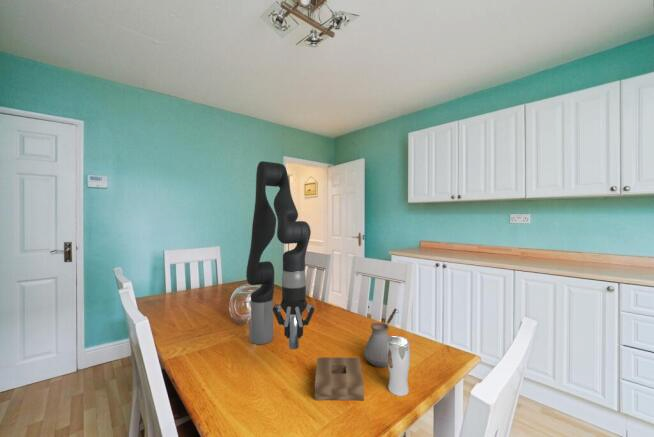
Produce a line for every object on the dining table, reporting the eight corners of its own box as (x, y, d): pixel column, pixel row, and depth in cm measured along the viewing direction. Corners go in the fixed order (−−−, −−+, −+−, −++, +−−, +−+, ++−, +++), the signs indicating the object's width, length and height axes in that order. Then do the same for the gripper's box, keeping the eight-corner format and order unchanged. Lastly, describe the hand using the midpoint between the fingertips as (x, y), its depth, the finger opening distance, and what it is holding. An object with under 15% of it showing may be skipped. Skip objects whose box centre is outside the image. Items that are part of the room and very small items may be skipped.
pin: (288, 349, 86) (288, 314, 86) (289, 344, 90) (289, 311, 89) (298, 349, 86) (298, 314, 86) (299, 344, 90) (299, 311, 89)
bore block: (315, 400, 79) (314, 382, 79) (317, 372, 93) (317, 357, 93) (363, 400, 79) (363, 383, 79) (359, 372, 93) (359, 357, 93)
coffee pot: (388, 374, 91) (387, 329, 91) (358, 363, 98) (357, 321, 98) (410, 348, 109) (410, 310, 108) (383, 340, 115) (383, 305, 115)
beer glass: (383, 383, 87) (383, 336, 86) (405, 381, 87) (405, 334, 87) (390, 397, 80) (390, 346, 79) (414, 396, 80) (413, 345, 80)
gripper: (269, 286, 84) (269, 342, 84) (315, 287, 83) (315, 343, 84) (274, 280, 91) (274, 331, 92) (316, 280, 91) (316, 332, 92)
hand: (293, 336), depth 88 cm, fingers closed on pin, 3 cm apart
